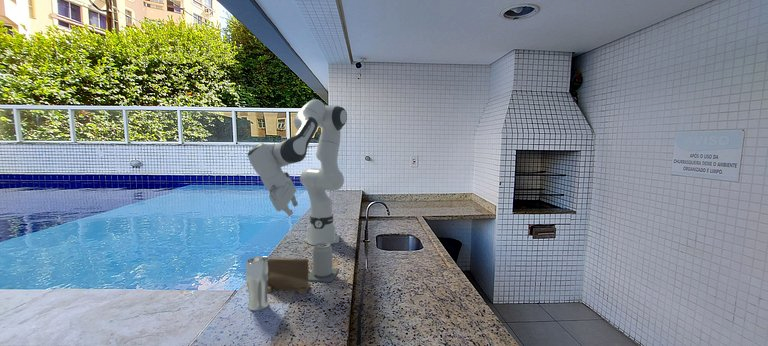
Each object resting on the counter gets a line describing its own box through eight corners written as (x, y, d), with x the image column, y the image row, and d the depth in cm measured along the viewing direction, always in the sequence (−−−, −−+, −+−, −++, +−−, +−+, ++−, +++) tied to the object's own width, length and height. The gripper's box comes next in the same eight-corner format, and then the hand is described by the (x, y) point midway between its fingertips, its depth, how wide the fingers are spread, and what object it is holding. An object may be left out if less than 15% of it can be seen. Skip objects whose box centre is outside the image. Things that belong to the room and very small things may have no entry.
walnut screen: (272, 284, 113) (272, 255, 112) (310, 286, 112) (310, 257, 111) (265, 292, 107) (264, 261, 106) (304, 294, 106) (304, 263, 105)
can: (334, 271, 125) (334, 242, 124) (328, 278, 117) (329, 248, 116) (316, 269, 126) (316, 241, 125) (309, 277, 118) (309, 246, 117)
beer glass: (247, 313, 93) (246, 265, 92) (245, 303, 99) (245, 257, 98) (271, 308, 96) (271, 261, 95) (268, 298, 102) (268, 254, 101)
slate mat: (314, 269, 127) (314, 268, 127) (338, 270, 127) (338, 269, 127) (305, 280, 116) (305, 279, 116) (332, 282, 116) (332, 280, 116)
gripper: (275, 187, 115) (294, 217, 119) (288, 171, 134) (304, 197, 138) (261, 194, 115) (280, 224, 119) (276, 177, 135) (292, 203, 139)
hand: (293, 209), depth 129 cm, fingers open, 8 cm apart
